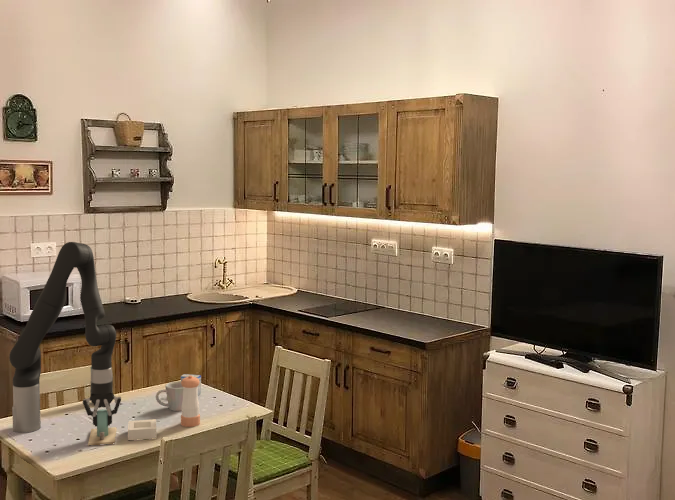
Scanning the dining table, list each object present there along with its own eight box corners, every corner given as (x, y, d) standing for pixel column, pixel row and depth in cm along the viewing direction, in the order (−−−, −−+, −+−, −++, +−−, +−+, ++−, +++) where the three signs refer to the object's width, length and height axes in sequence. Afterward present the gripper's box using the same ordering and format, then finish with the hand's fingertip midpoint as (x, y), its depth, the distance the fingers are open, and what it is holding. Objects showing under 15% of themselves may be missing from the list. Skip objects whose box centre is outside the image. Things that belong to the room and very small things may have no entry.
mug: (195, 409, 306) (195, 385, 305) (160, 415, 297) (160, 391, 296) (185, 402, 314) (185, 379, 313) (151, 408, 306) (150, 384, 305)
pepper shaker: (199, 426, 286) (199, 378, 284) (180, 427, 285) (180, 378, 283) (200, 420, 293) (200, 372, 291) (181, 420, 292) (181, 373, 290)
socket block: (127, 440, 270) (127, 430, 270) (128, 431, 280) (128, 420, 279) (156, 438, 272) (156, 428, 272) (156, 429, 282) (156, 419, 282)
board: (88, 446, 264) (88, 436, 264) (91, 431, 279) (91, 422, 278) (114, 444, 267) (114, 434, 266) (116, 429, 281) (116, 420, 281)
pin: (96, 437, 270) (96, 413, 269) (97, 433, 274) (96, 409, 273) (108, 436, 271) (107, 412, 270) (108, 432, 275) (108, 409, 274)
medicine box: (180, 395, 324) (180, 376, 323) (184, 392, 328) (183, 373, 327) (197, 397, 322) (197, 377, 321) (201, 393, 327) (201, 374, 326)
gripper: (122, 375, 276) (123, 420, 277) (82, 377, 272) (82, 423, 274) (121, 381, 268) (122, 427, 270) (80, 383, 265) (81, 430, 267)
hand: (102, 425), depth 272 cm, fingers closed on pin, 4 cm apart
